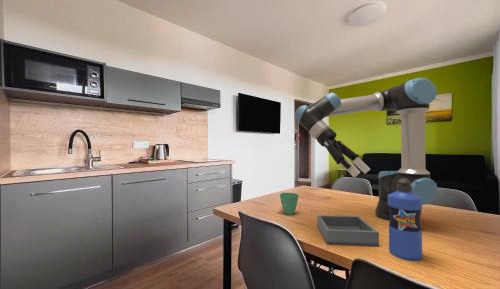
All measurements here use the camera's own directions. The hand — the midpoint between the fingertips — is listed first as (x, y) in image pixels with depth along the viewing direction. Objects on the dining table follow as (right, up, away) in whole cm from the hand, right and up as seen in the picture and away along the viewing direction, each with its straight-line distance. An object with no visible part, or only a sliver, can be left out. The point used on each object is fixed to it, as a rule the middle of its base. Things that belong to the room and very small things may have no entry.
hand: (362, 173), depth 82 cm
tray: (-4, -26, +7) cm, 27 cm away
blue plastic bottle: (+10, -26, -8) cm, 29 cm away
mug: (-21, -27, +39) cm, 52 cm away
